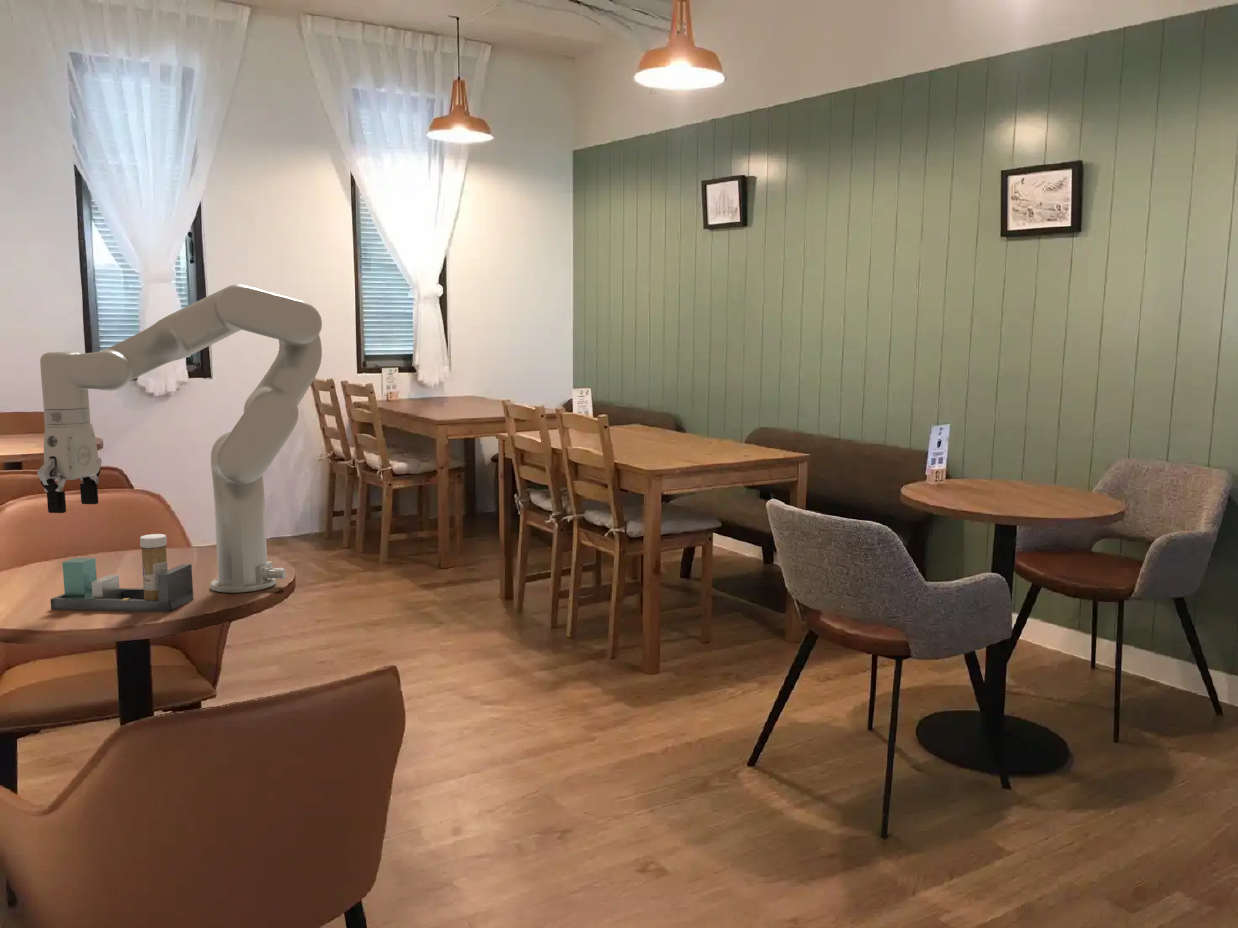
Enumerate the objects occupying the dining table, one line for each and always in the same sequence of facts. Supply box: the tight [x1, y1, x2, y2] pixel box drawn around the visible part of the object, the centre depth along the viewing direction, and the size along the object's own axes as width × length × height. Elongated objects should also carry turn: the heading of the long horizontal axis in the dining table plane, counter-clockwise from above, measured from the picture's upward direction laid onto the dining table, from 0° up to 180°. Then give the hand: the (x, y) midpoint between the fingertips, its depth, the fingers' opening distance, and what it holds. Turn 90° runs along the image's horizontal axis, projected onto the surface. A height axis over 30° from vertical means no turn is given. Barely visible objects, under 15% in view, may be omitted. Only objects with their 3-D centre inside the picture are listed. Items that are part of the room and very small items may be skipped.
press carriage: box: [62, 557, 121, 599], centre depth 192 cm, size 8×6×8 cm
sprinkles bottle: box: [139, 533, 169, 600], centre depth 190 cm, size 5×5×13 cm
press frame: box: [49, 563, 194, 613], centre depth 191 cm, size 23×9×7 cm, turn 85°
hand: (74, 508), depth 190 cm, fingers open, 9 cm apart
